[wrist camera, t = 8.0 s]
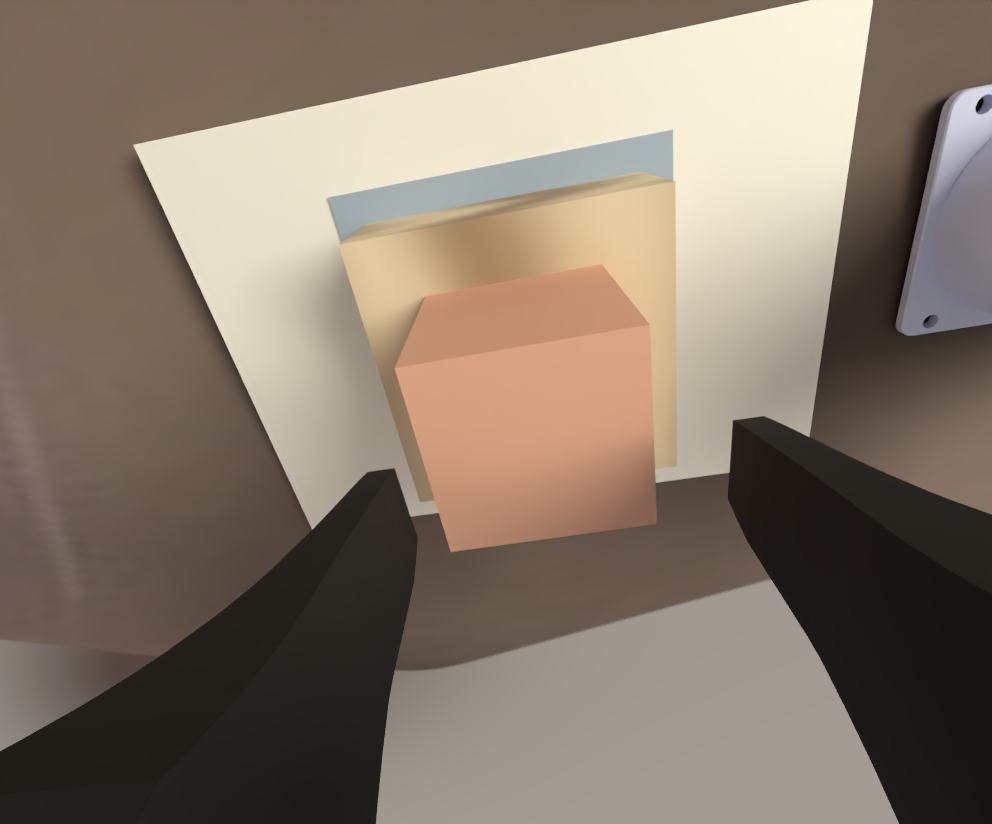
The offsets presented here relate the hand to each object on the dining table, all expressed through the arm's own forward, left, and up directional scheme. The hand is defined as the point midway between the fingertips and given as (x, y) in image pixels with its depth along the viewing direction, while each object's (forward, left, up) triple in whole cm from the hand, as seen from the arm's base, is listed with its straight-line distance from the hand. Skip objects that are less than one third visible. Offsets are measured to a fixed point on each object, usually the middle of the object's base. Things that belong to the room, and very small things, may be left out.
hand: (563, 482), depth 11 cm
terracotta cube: (+1, -1, -5) cm, 5 cm away
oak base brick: (+1, 0, -9) cm, 9 cm away
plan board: (+1, 0, -10) cm, 10 cm away
